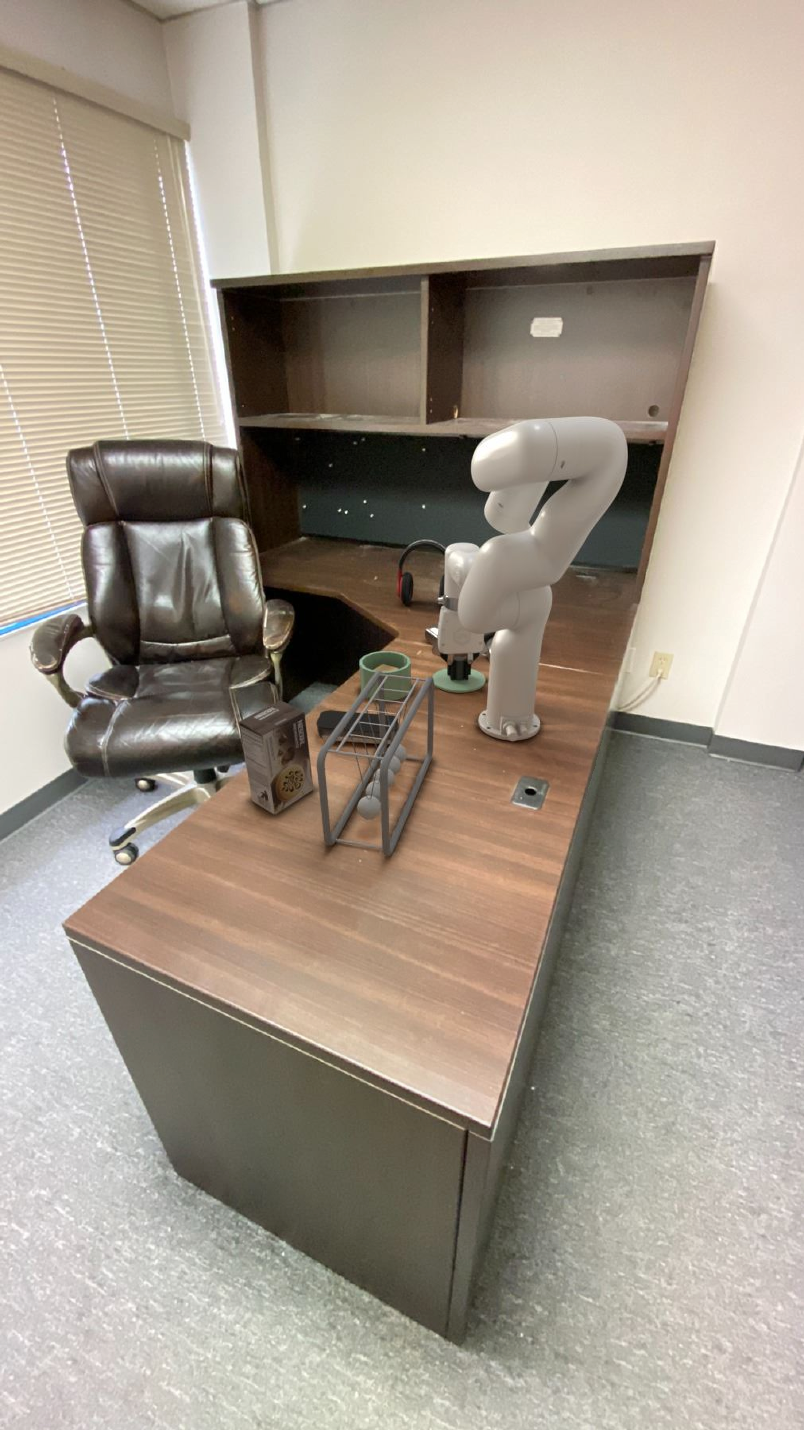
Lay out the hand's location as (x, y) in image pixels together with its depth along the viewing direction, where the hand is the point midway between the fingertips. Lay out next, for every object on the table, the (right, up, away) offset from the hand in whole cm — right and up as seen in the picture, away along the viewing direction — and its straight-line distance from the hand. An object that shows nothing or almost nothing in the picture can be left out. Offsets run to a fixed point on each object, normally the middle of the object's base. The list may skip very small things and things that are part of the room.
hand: (458, 677), depth 142 cm
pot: (-17, -3, -2) cm, 17 cm away
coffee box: (-34, -23, -36) cm, 54 cm away
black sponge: (-22, -13, -19) cm, 32 cm away
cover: (0, -1, 0) cm, 1 cm away
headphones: (-6, +25, +48) cm, 54 cm away
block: (-17, -3, -2) cm, 17 cm away
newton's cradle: (-16, -23, -37) cm, 46 cm away
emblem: (+7, +10, +21) cm, 25 cm away
